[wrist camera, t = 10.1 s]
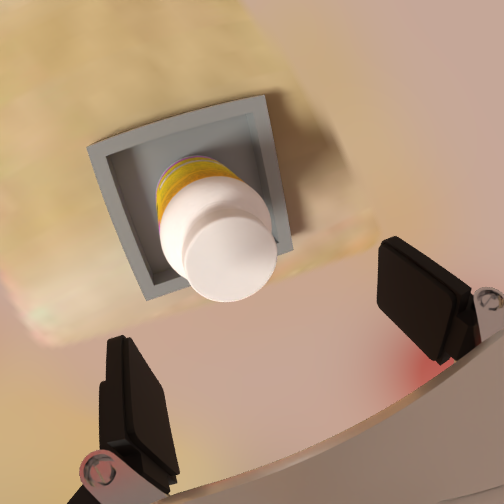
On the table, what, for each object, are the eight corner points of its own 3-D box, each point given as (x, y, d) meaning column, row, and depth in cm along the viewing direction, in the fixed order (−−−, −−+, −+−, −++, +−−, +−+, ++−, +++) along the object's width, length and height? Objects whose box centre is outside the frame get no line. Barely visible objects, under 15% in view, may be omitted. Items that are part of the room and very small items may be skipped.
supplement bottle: (139, 185, 25) (133, 250, 14) (206, 138, 25) (256, 165, 14) (184, 244, 28) (214, 338, 17) (246, 201, 28) (315, 270, 17)
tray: (92, 143, 22) (86, 147, 20) (254, 95, 25) (264, 94, 23) (145, 286, 29) (146, 301, 27) (282, 239, 32) (293, 250, 29)
